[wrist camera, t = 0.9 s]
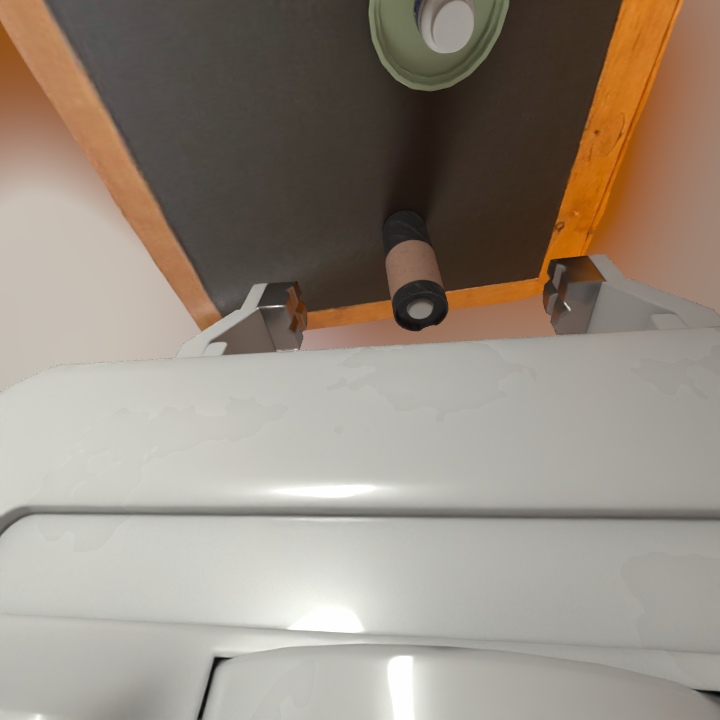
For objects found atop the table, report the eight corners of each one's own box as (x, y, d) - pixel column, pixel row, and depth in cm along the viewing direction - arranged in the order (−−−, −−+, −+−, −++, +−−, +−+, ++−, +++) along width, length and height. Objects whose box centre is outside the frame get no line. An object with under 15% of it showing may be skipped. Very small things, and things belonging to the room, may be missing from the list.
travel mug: (392, 202, 62) (408, 285, 49) (434, 217, 64) (460, 299, 52) (373, 241, 67) (384, 325, 55) (413, 254, 70) (431, 336, 57)
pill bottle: (468, -18, 42) (492, -1, 36) (448, 42, 46) (466, 67, 40) (422, -35, 41) (438, -20, 35) (405, 29, 45) (417, 53, 39)
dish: (413, -141, 36) (416, -142, 35) (535, -41, 42) (542, -38, 40) (346, 47, 46) (346, 52, 45) (451, 107, 52) (454, 113, 51)
